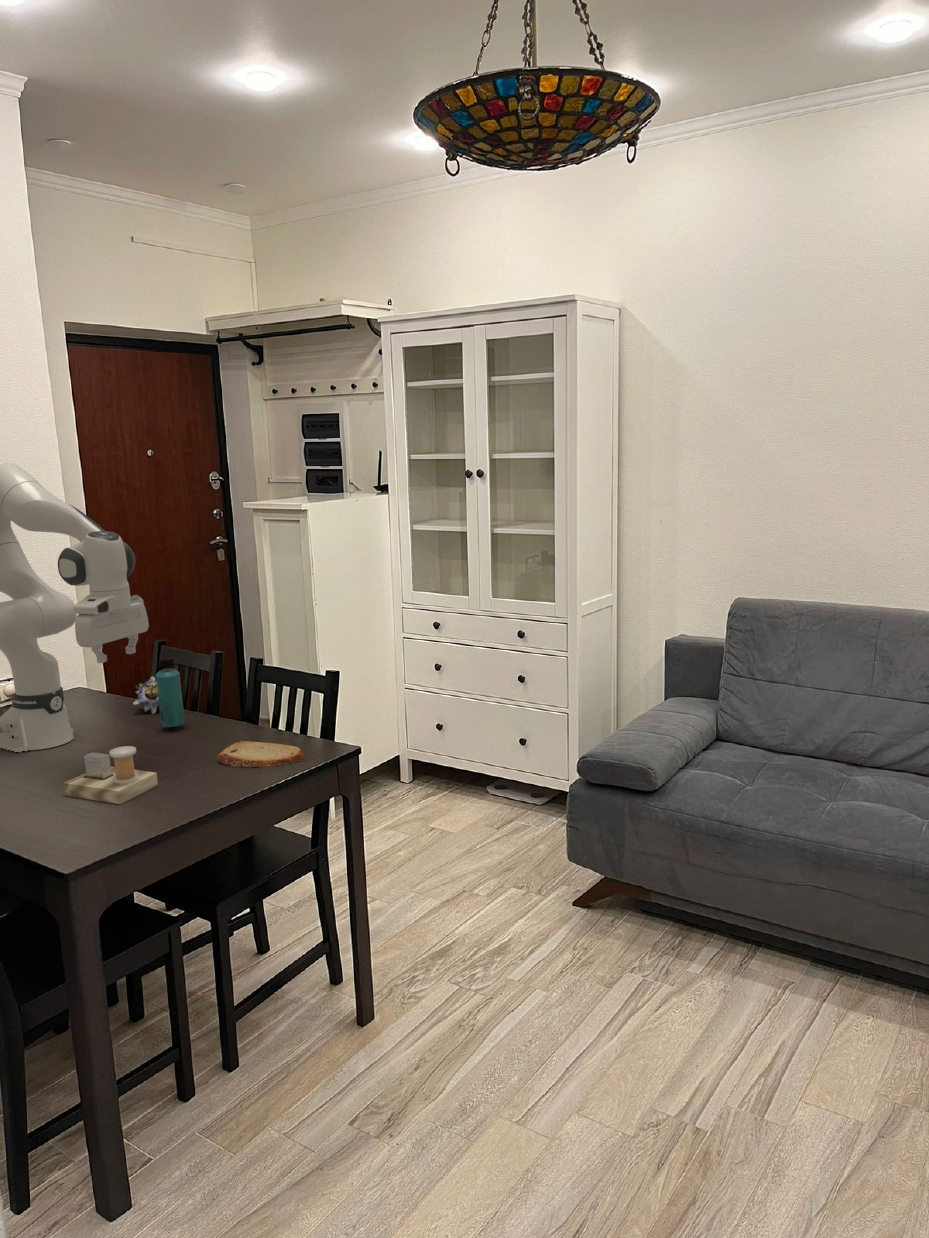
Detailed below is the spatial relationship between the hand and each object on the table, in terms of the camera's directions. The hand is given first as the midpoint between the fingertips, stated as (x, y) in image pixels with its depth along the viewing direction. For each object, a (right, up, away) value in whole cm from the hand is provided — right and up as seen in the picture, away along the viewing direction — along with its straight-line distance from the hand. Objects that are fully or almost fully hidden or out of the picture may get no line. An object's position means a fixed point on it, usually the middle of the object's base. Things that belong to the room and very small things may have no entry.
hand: (116, 657), depth 225 cm
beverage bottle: (+3, -21, +34) cm, 40 cm away
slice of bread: (+32, -26, +8) cm, 42 cm away
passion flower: (-8, -18, +54) cm, 57 cm away
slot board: (+3, -30, -11) cm, 32 cm away
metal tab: (0, -29, -9) cm, 31 cm away
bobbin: (+7, -27, -13) cm, 31 cm away
